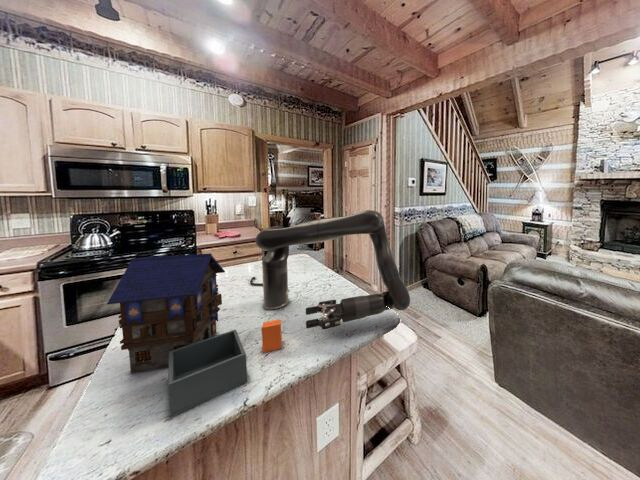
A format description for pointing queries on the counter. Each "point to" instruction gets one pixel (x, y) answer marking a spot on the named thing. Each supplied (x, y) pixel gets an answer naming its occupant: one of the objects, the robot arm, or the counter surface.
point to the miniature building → (166, 306)
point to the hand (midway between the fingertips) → (305, 317)
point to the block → (271, 335)
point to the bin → (205, 370)
